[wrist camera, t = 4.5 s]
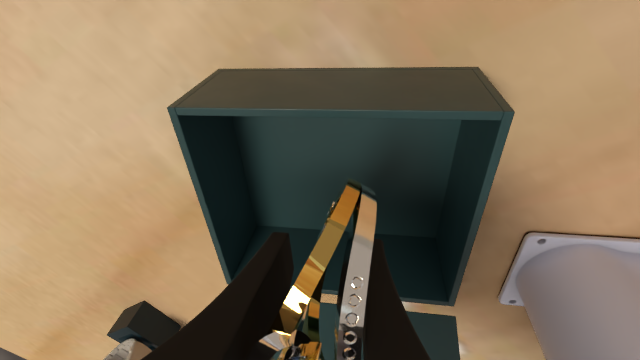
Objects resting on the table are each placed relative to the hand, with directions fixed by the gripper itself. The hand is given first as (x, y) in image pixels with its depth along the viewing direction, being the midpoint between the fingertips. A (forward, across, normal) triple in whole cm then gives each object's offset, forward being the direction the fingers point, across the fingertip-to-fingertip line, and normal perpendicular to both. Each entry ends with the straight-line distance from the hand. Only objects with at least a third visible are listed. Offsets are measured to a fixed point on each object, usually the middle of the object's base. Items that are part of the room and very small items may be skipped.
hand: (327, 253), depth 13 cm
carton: (+10, 0, +2) cm, 10 cm away
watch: (+10, +24, +25) cm, 36 cm away
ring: (+3, 0, 0) cm, 3 cm away
